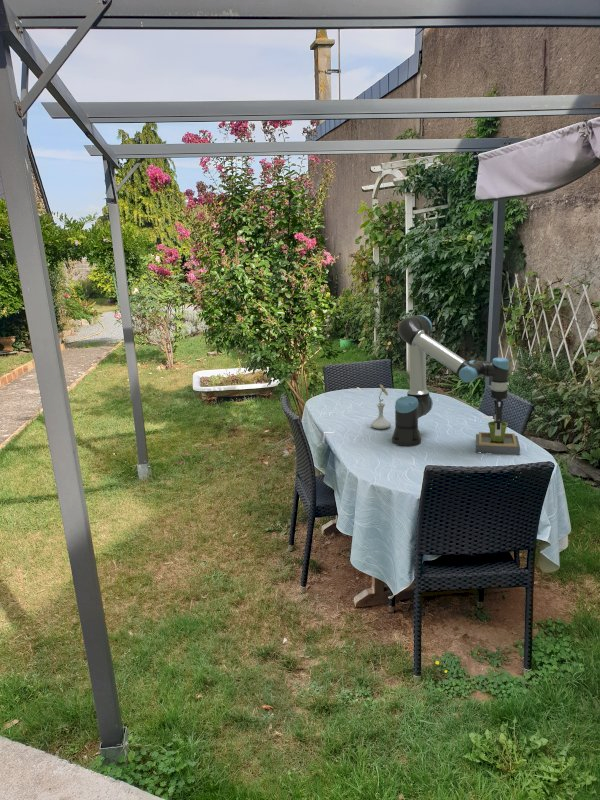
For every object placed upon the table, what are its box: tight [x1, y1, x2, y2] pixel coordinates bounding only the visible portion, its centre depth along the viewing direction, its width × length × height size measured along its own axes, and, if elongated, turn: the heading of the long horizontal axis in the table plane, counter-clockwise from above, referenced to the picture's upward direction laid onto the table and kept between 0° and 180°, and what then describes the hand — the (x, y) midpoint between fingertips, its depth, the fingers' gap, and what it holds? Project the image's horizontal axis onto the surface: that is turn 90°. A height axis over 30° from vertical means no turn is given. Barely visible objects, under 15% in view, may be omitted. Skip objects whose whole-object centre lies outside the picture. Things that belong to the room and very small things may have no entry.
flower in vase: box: [370, 384, 392, 430], centre depth 324 cm, size 13×11×25 cm
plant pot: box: [487, 420, 508, 442], centre depth 283 cm, size 9×9×9 cm
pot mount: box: [475, 431, 521, 456], centre depth 284 cm, size 20×18×5 cm
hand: (497, 431), depth 283 cm, fingers open, 13 cm apart
